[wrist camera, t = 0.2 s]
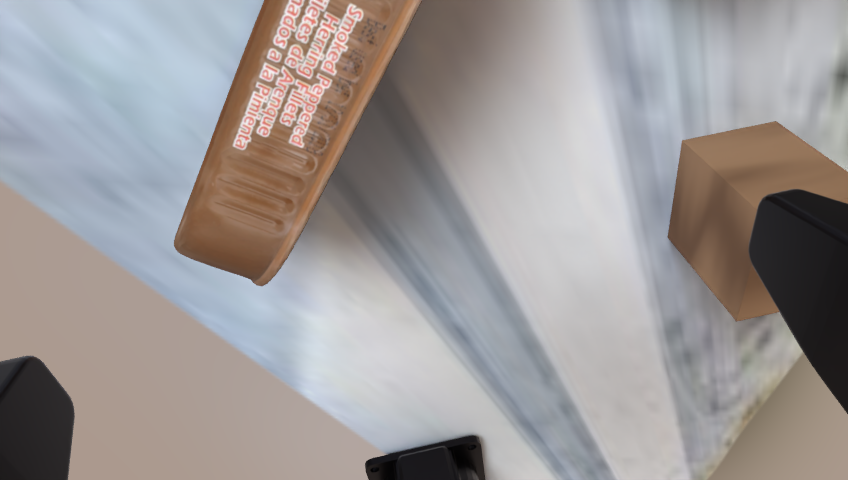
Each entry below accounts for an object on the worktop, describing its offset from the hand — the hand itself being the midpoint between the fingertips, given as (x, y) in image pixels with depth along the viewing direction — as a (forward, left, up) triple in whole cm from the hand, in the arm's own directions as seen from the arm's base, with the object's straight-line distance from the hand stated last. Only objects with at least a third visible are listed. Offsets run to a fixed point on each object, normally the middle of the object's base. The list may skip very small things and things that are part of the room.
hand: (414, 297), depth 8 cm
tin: (0, +1, -15) cm, 15 cm away
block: (-11, -14, -14) cm, 23 cm away
